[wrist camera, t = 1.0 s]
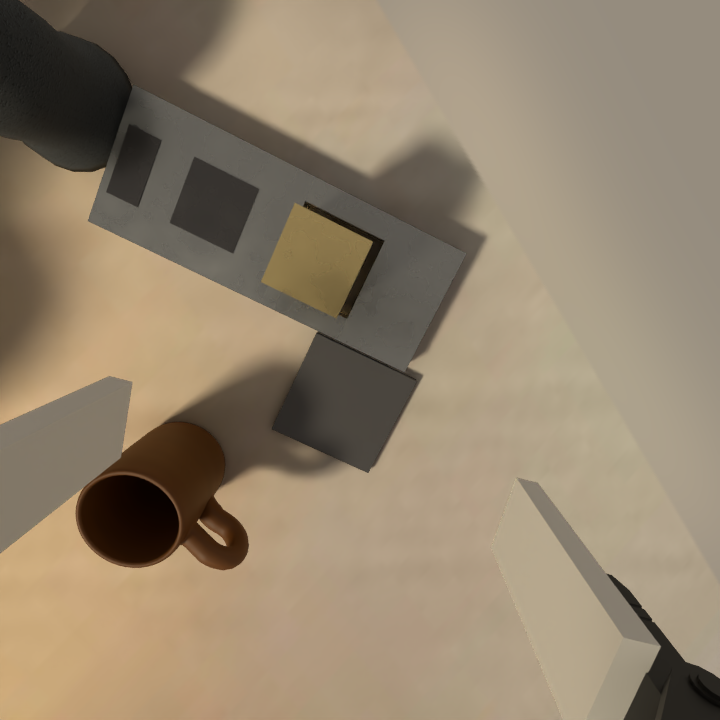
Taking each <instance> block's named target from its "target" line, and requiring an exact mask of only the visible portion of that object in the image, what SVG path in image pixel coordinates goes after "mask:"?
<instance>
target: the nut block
mask: <svg viewBox="0 0 720 720" xmlns="http://www.w3.org/2000/svg"><path fill="white" fill-rule="evenodd" d="M372 243H373V242H372V241H370V240H368V239H366V238H364V237H362V236H360V235H358V234H356V233H354V232H352V231H350V230H348V229H346V228H344V227H342V226H340V225H338V224H336V223H334V222H332V221H330V220H328V219H326V218H324V217H322V216H320V215H318V214H316V213H314V212H312V211H310V210H308V209H306V208H304V207H302V206H300V205H298V204H296V203H294V206H293V208H292V210H291V213H290V215H289V217H288V220H287V222H286V224H285V227H284V229H283V231H282V234H281V236H280V238H279V241H278V243H277V245H276V248H275V250H274V252H273V255H272V257H271V259H270V262H269V264H268V266H267V269H266V271H265V273H264V276H263V278H262V280H261V282H262V283H264V284H266V285H268V286H270V287H272V288H274V289H276V290H278V291H281V292H283V293H285V294H287V295H289V296H291V297H293V298H295V299H297V300H299V301H301V302H303V303H305V304H307V305H310V306H312V307H314V308H316V309H318V310H320V311H322V312H324V313H326V314H328V315H330V316H332V317H334V318H337V317H338V315H339V313H340V311H341V309H342V307H343V306H344V304H345V301H346V299H347V297H348V295H349V293H350V291H351V289H352V287H353V285H354V283H355V280H356V278H357V276H358V274H359V272H360V270H361V268H362V266H363V264H364V262H365V259H366V257H367V255H368V253H369V251H370V249H371V247H372Z"/></svg>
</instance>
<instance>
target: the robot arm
mask: <svg viewBox="0 0 720 720" xmlns="http://www.w3.org/2000/svg"><path fill="white" fill-rule="evenodd" d="M131 388H132V382H131V381H127V380H123V379H119V378H115V377H111V376H109V377H106V378H104V379H102V380H100V381H97V382H95V383H93V384H91V385H88V386H86V387H84V388H82V389H79V390H77V391H75V392H73V393H70V394H68V395H66V396H64V397H61V398H59V399H57V400H55V401H52V402H50V403H48V404H46V405H44V406H41V407H39V408H37V409H35V410H32V411H30V412H28V413H26V414H23V415H21V416H19V417H17V418H14V419H12V420H10V421H8V422H5V423H3V424H1V425H0V553H1V552H3V551H4V550H5V549H6V548H8V547H9V546H10V545H11V544H13V543H14V542H15V541H17V540H18V539H19V538H20V537H22V536H23V535H24V534H25V533H27V532H28V531H29V530H30V529H32V528H33V527H34V526H35V525H37V524H38V523H39V522H40V521H42V520H43V519H44V518H46V517H47V516H48V515H49V514H51V513H52V512H53V511H54V510H56V509H57V508H58V507H59V506H61V505H62V504H63V503H64V502H66V501H67V500H68V499H69V498H71V497H72V496H73V495H75V494H76V493H77V492H78V491H80V490H81V489H82V488H83V487H85V486H86V485H87V484H88V483H90V482H91V481H92V480H93V479H95V478H96V477H97V476H98V475H100V474H101V473H102V472H103V471H105V470H106V469H107V468H109V467H110V466H111V465H112V464H114V463H115V462H116V461H117V460H119V459H120V458H121V454H122V448H123V441H124V434H125V428H126V421H127V414H128V408H129V401H130V395H131ZM491 549H492V552H493V554H494V556H495V559H496V561H497V564H498V566H499V568H500V571H501V573H502V576H503V578H504V580H505V583H506V585H507V587H508V590H509V592H510V595H511V597H512V599H513V602H514V604H515V607H516V609H517V611H518V614H519V616H520V618H521V621H522V623H523V626H524V628H525V630H526V633H527V635H528V638H529V640H530V642H531V645H532V647H533V650H534V652H535V654H536V657H537V659H538V661H539V664H540V666H541V669H542V671H543V673H544V676H545V678H546V681H547V683H548V685H549V688H550V690H551V692H552V695H553V697H554V700H555V702H556V704H557V707H558V709H559V712H560V714H561V716H562V719H563V720H720V679H719V678H718V677H716V676H715V675H714V674H712V673H710V672H708V671H706V670H705V669H703V668H701V667H699V666H696V665H693V664H690V663H687V662H685V661H684V659H683V658H682V657H681V656H680V654H679V653H678V652H677V650H676V649H675V648H674V647H673V645H672V644H671V643H670V642H669V640H668V639H667V638H666V636H665V635H664V634H663V633H662V631H661V630H660V629H659V628H658V626H657V625H656V624H655V623H654V622H652V619H651V617H650V616H649V615H648V613H647V612H646V611H645V610H644V609H642V606H641V605H640V603H639V602H638V601H637V599H636V598H635V597H634V596H633V594H632V593H631V592H630V591H629V590H628V589H627V588H626V587H625V586H624V585H623V584H621V583H620V582H619V581H618V580H617V579H616V578H614V577H613V576H612V575H609V574H606V573H605V572H604V570H603V569H602V568H601V566H600V565H599V564H598V562H597V561H596V560H595V558H594V557H593V556H592V554H591V553H590V552H589V550H588V549H587V548H586V546H585V545H584V544H583V542H582V541H581V540H580V538H579V537H578V536H577V534H576V533H575V532H574V530H573V529H572V528H571V526H570V525H569V524H568V522H567V521H566V520H565V518H564V517H563V516H562V514H561V513H560V512H559V510H558V509H557V508H556V506H555V505H554V504H553V502H552V501H551V500H550V498H549V497H548V496H547V494H546V493H545V492H544V490H543V489H542V488H541V486H540V485H539V484H538V483H536V482H532V481H528V480H524V479H520V478H516V479H515V482H514V485H513V488H512V491H511V493H510V496H509V499H508V502H507V504H506V507H505V510H504V513H503V515H502V518H501V521H500V524H499V526H498V529H497V532H496V535H495V537H494V540H493V543H492V546H491Z"/></svg>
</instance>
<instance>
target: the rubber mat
mask: <svg viewBox="0 0 720 720" xmlns="http://www.w3.org/2000/svg"><path fill="white" fill-rule="evenodd" d="M416 382H417V381H416V379H414V378H412V377H410V376H408V375H406V374H403V373H401V372H399V371H397V370H395V369H393V368H391V367H389V366H387V365H385V364H383V363H380V362H378V361H376V360H374V359H372V358H370V357H368V356H366V355H364V354H362V353H360V352H357V351H355V350H353V349H351V348H349V347H347V346H345V345H343V344H341V343H339V342H337V341H334V340H332V339H330V338H328V337H326V336H324V335H322V334H320V333H318V332H317V333H316V335H315V337H314V340H313V342H312V344H311V346H310V348H309V350H308V352H307V354H306V357H305V359H304V361H303V363H302V365H301V367H300V369H299V372H298V374H297V376H296V378H295V380H294V382H293V384H292V387H291V389H290V391H289V393H288V395H287V397H286V399H285V401H284V404H283V406H282V408H281V410H280V412H279V414H278V416H277V419H276V421H275V423H274V425H273V427H272V429H273V430H275V431H277V432H279V433H281V434H284V435H286V436H288V437H290V438H292V439H295V440H297V441H299V442H301V443H303V444H306V445H308V446H310V447H312V448H314V449H317V450H319V451H321V452H323V453H325V454H327V455H330V456H332V457H334V458H336V459H338V460H341V461H343V462H345V463H347V464H349V465H352V466H354V467H356V468H358V469H360V470H363V471H365V472H367V473H369V471H370V469H371V467H372V465H373V463H374V461H375V459H376V457H377V456H378V454H379V452H380V450H381V448H382V446H383V444H384V442H385V441H386V439H387V437H388V435H389V433H390V431H391V429H392V427H393V425H394V424H395V422H396V420H397V418H398V416H399V414H400V412H401V410H402V408H403V407H404V405H405V403H406V401H407V399H408V397H409V395H410V393H411V392H412V390H413V388H414V386H415V384H416Z"/></svg>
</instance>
